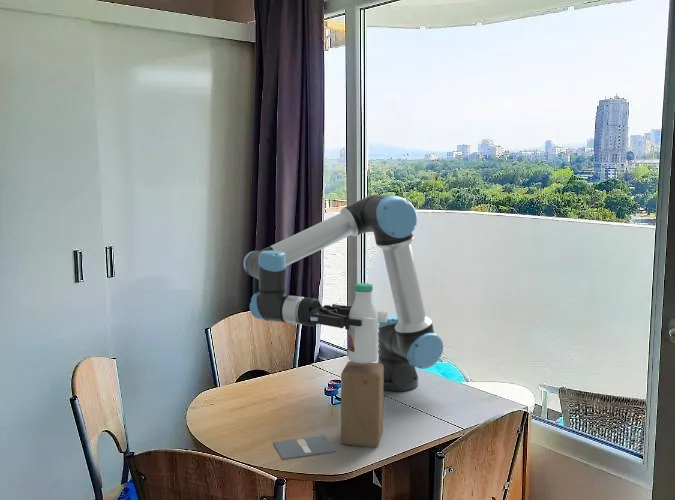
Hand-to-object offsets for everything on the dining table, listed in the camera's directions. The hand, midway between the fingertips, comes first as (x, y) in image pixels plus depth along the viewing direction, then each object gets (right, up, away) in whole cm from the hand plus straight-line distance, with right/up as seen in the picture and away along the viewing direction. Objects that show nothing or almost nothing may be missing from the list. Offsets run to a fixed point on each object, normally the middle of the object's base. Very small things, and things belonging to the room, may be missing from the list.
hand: (380, 320), depth 162 cm
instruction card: (-20, -33, +1) cm, 38 cm away
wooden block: (-5, -33, +7) cm, 34 cm away
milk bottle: (-4, -11, +4) cm, 12 cm away
